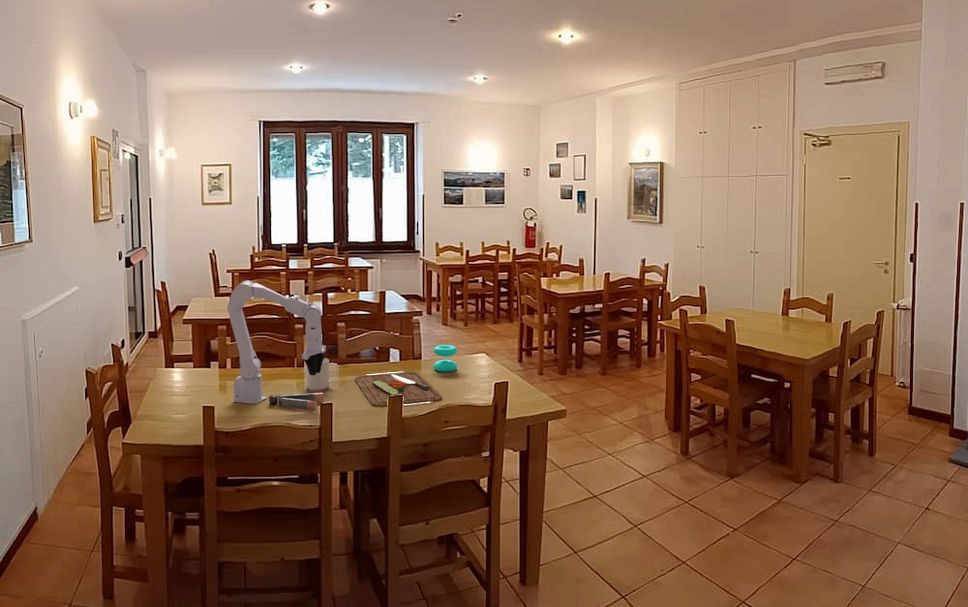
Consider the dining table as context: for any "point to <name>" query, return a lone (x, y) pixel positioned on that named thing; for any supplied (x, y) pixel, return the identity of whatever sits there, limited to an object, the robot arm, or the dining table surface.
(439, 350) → the donuts
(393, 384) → the chopping board
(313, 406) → the base
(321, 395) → the bar
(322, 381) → the mug
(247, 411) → the dining table surface
